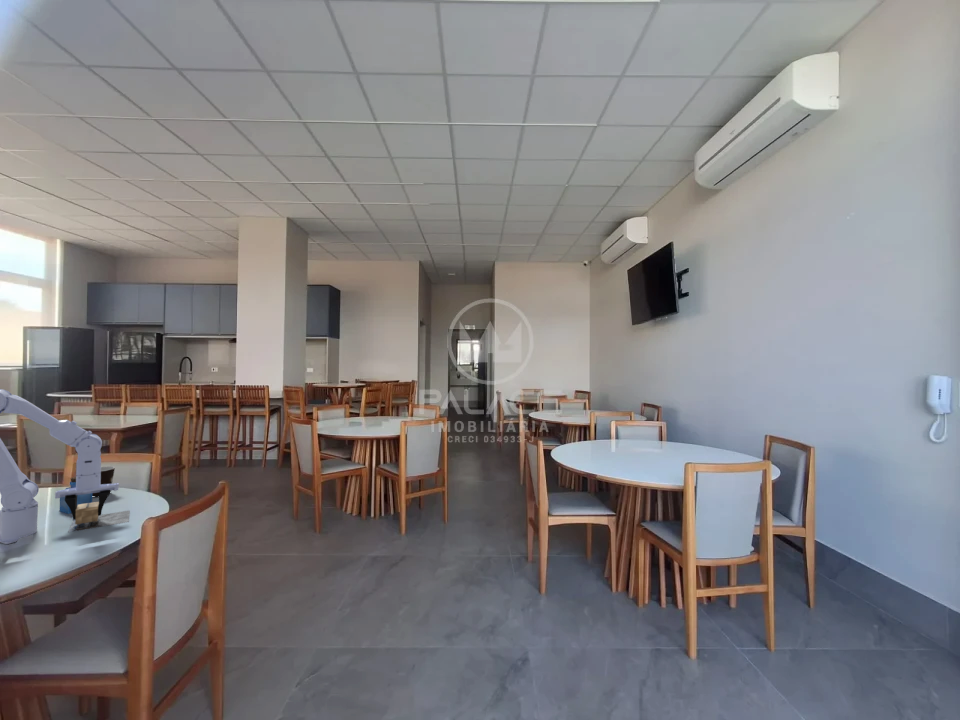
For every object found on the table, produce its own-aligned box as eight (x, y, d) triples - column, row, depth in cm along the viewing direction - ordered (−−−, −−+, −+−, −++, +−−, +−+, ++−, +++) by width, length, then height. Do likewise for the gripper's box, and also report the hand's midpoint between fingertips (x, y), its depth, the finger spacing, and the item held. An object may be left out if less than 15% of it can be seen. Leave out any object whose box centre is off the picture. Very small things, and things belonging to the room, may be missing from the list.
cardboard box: (75, 524, 127) (75, 509, 127) (77, 518, 132) (77, 504, 132) (97, 520, 131) (97, 505, 131) (98, 515, 135) (99, 500, 135)
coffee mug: (94, 491, 166) (95, 466, 166) (119, 491, 167) (120, 466, 167) (71, 501, 154) (72, 474, 154) (98, 500, 156) (99, 473, 156)
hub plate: (67, 535, 124) (67, 522, 124) (73, 522, 134) (73, 510, 134) (128, 524, 133) (129, 512, 133) (129, 513, 143) (130, 501, 143)
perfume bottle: (91, 511, 144) (92, 476, 145) (68, 517, 139) (69, 481, 139) (82, 508, 147) (83, 474, 147) (59, 513, 141) (60, 478, 142)
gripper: (54, 480, 124) (52, 525, 124) (118, 472, 133) (117, 515, 133) (57, 475, 129) (56, 518, 129) (119, 468, 139) (118, 509, 138)
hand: (87, 516), depth 131 cm, fingers closed on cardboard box, 5 cm apart
